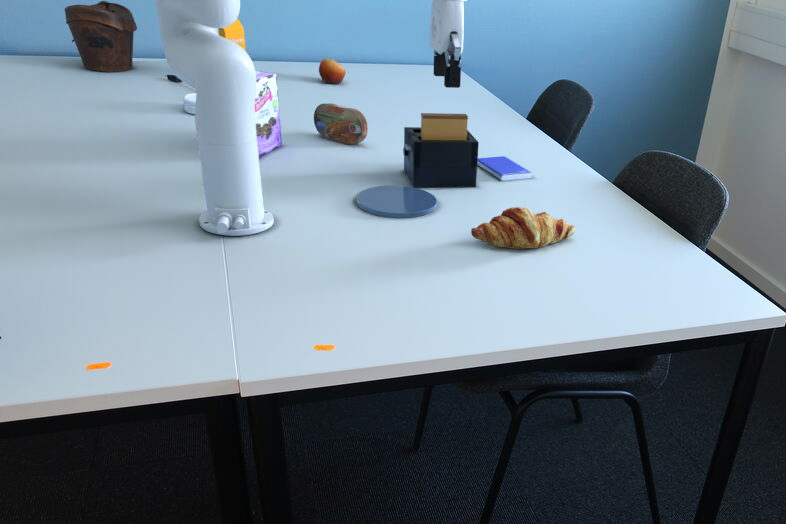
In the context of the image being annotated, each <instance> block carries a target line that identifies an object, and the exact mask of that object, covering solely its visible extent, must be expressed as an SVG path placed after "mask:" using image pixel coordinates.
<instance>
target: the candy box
mask: <svg viewBox="0 0 786 524" xmlns="http://www.w3.org/2000/svg"><path fill="white" fill-rule="evenodd" d="M255 71H256V94H255V123H256V135H257V145H258V155H259V158H260V157H262V156H264V155H266V154H268V153H270V152H273V151H274V150H275V149H278V148H280V147H282V146H283V140H282V139H283V138H282V126H281V118H280V117H281V116H280V115H281V114H280V106H279V92H278V91H279V90H278V81H277V80H278V79H277V74H276V73H271V72H265V71H258V70H255Z"/></svg>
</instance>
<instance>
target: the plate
mask: <svg viewBox="0 0 786 524" xmlns="http://www.w3.org/2000/svg"><path fill="white" fill-rule="evenodd" d="M356 204H357V206H358V207H359V208H360V209H361V210H363V211H365V212H366V213H369V214H372V215H375V216H379V217H384V218H393V219H409V218H410V219H411V218H417V217H422V216H426V215H428V214H431V213H432V212H434V211H435V210H436V208H437V206H438V200H437V198H436V196H435V195H434V194H433V193H431V192H429V191H426V190H424V189H423V188H414V187H413V186H408V185H395V184H394V185H393V184H392V185H391V184H388V185H377V186H372V187H368V188H365V189H363V190H361V191H360V192H359V193H358V194H357V195H356Z"/></svg>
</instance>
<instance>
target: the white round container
mask: <svg viewBox="0 0 786 524" xmlns="http://www.w3.org/2000/svg"><path fill="white" fill-rule="evenodd" d="M182 101H183V108H184V111H185V112H186V113H188V114H191V115H195V105H196V92H194V93H188V94H185V95H184V96H183V97H182Z"/></svg>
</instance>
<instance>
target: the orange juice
mask: <svg viewBox="0 0 786 524" xmlns="http://www.w3.org/2000/svg"><path fill="white" fill-rule="evenodd" d="M218 32H219V36H222V37H224V38H226V39H229V40H231V41H233V42H235V43H236V44H238V45H239V46H240V47H242V48H243V49H244V50H245V51H246V52H247V48H246V38H245V28H244V26H243V24H242V23H241V21H240V19H239V17H238V18H237V19H236V21H235V22H234V23H233V24H232V25H230V26H228V27H224V28H218Z"/></svg>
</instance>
